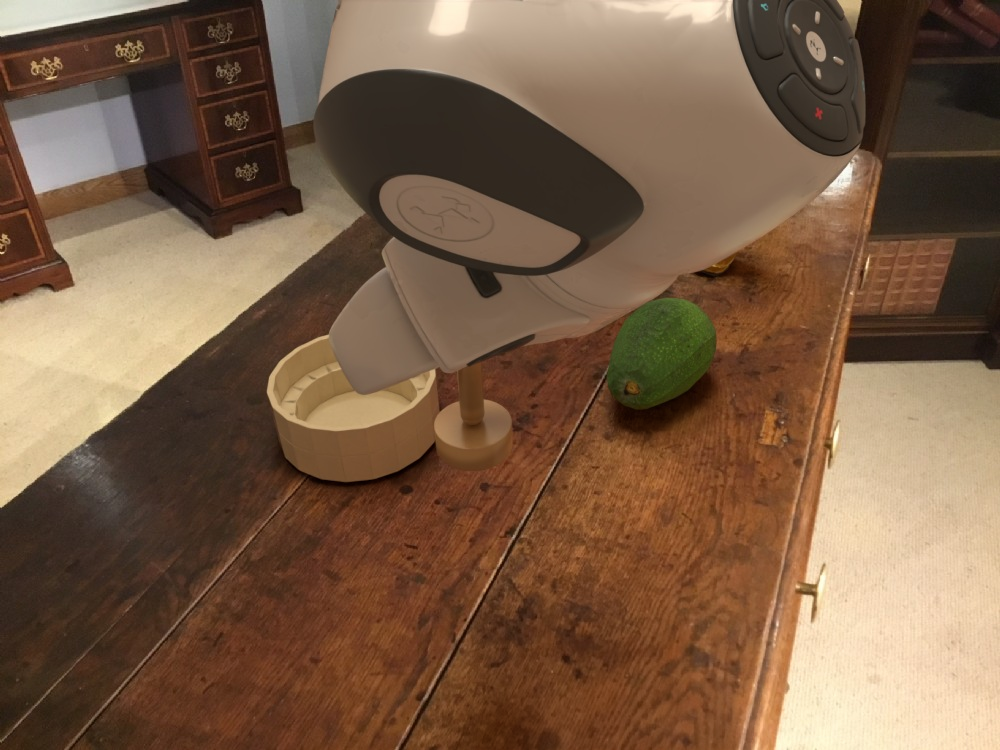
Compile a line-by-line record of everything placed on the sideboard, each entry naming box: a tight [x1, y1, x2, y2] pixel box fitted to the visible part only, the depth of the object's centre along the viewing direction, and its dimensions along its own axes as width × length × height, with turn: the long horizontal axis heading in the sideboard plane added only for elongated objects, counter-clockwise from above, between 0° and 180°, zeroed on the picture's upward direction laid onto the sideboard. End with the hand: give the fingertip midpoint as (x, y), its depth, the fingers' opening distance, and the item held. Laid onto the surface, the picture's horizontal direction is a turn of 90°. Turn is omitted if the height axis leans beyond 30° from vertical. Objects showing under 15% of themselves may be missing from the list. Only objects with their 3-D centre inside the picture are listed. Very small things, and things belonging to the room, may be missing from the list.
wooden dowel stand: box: [434, 361, 514, 472], centre depth 53 cm, size 5×5×17 cm
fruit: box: [606, 297, 717, 410], centre depth 87 cm, size 15×10×10 cm, turn 142°
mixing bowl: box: [266, 334, 441, 483], centre depth 85 cm, size 16×16×7 cm
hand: (460, 326), depth 53 cm, fingers closed on wooden dowel stand
